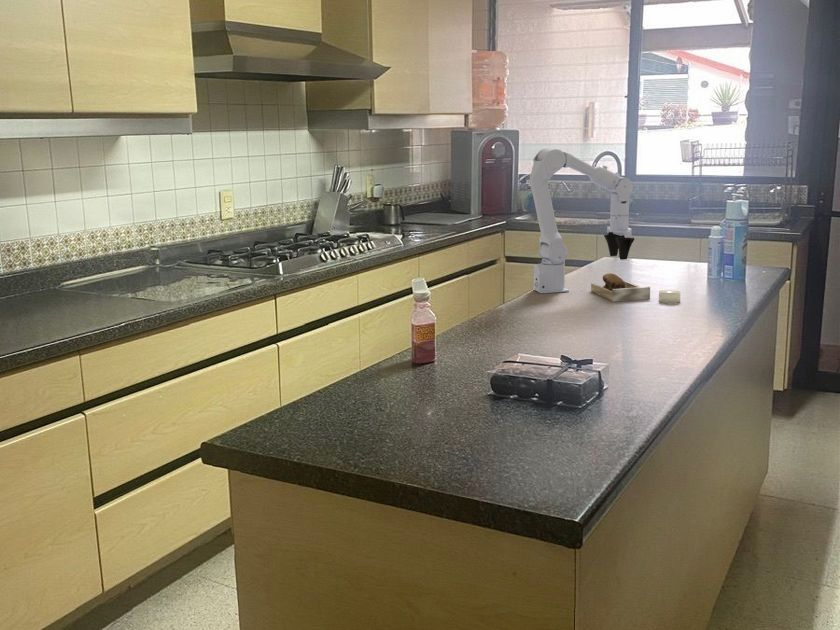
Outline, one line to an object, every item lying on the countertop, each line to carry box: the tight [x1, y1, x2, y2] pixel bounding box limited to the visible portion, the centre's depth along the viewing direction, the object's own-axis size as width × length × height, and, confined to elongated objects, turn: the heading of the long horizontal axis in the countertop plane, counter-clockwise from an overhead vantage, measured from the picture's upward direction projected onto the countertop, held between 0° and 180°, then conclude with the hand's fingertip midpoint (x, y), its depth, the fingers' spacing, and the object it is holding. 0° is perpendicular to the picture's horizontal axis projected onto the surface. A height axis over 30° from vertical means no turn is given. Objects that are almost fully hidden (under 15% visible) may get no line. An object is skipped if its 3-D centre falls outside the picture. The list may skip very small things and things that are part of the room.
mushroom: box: [602, 273, 625, 291], centre depth 264 cm, size 8×8×6 cm
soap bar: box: [658, 289, 681, 304], centre depth 249 cm, size 6×6×3 cm
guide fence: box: [590, 280, 651, 302], centre depth 260 cm, size 12×17×4 cm
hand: (618, 257), depth 273 cm, fingers open, 7 cm apart
